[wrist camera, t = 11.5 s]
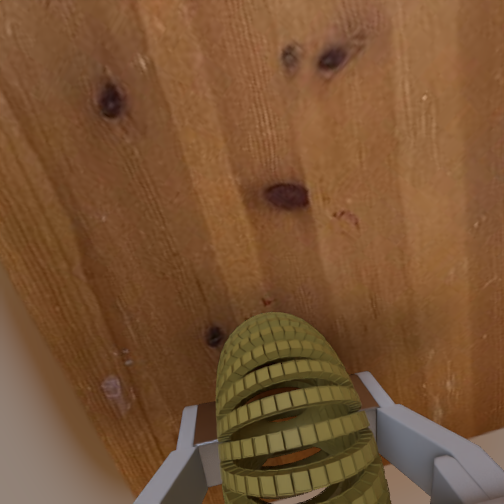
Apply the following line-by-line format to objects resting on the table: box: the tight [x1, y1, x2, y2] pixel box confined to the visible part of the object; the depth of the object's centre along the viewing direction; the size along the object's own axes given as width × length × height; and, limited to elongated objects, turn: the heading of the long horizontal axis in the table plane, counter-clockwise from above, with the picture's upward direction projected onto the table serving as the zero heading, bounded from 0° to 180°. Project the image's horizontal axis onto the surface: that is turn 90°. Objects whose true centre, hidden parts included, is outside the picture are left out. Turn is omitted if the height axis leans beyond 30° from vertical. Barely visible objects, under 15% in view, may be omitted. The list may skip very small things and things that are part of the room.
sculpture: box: [216, 312, 391, 504], centre depth 9 cm, size 8×4×8 cm, turn 9°
